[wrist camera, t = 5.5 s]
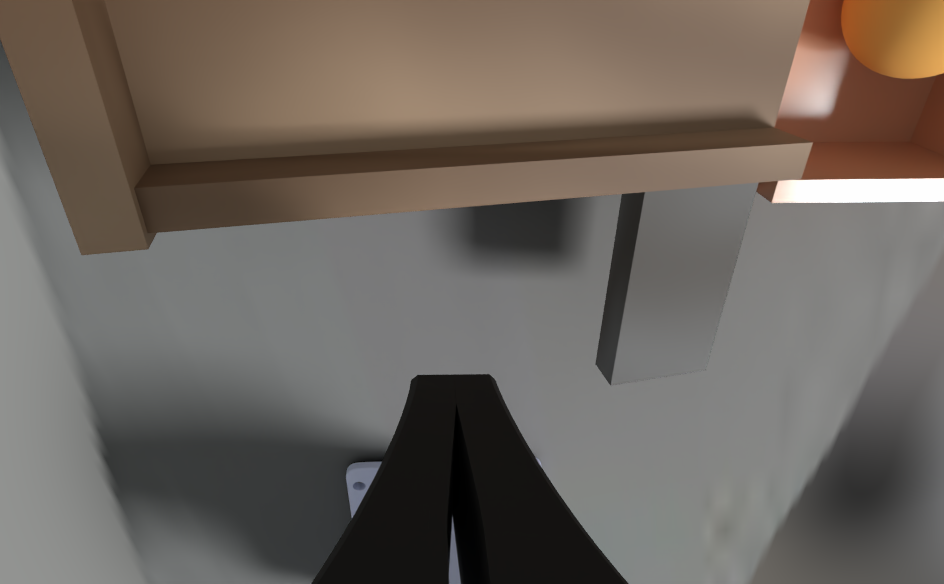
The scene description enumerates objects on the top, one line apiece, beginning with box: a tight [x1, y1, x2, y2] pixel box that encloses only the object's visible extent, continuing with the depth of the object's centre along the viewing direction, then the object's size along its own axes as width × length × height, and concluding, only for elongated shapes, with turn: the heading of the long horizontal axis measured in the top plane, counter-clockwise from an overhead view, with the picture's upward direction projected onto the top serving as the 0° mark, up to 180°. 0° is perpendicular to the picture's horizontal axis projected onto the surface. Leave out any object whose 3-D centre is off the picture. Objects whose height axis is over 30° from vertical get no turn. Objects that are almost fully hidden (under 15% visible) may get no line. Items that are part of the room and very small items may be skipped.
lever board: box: [0, 0, 813, 385], centre depth 12 cm, size 13×14×2 cm
